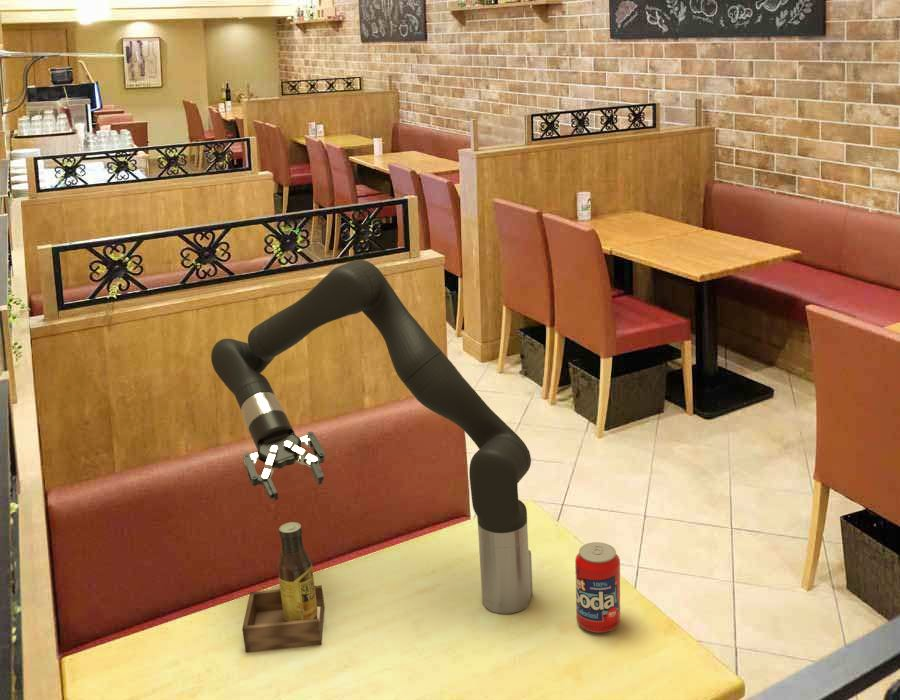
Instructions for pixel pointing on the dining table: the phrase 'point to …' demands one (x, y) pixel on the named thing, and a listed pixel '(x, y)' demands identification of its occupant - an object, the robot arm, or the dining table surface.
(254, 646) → the box
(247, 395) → the robot arm
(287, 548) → the sauce bottle
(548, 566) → the dining table surface
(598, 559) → the soda can
